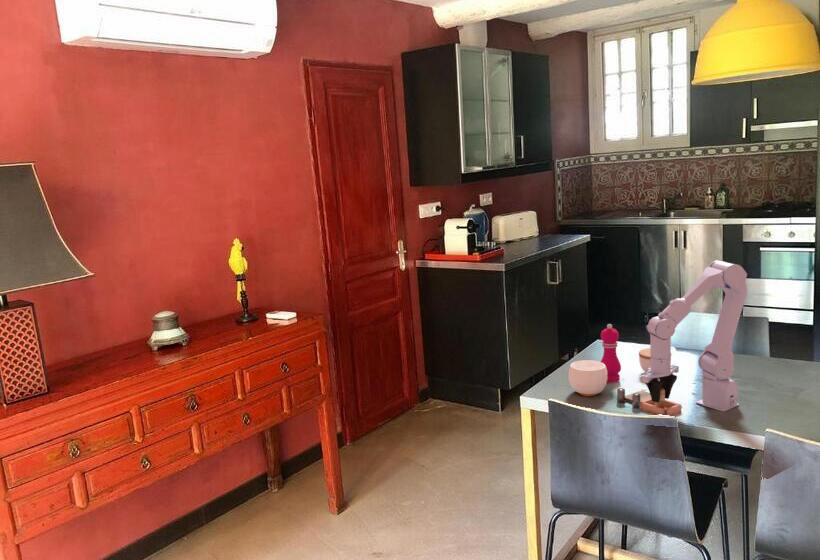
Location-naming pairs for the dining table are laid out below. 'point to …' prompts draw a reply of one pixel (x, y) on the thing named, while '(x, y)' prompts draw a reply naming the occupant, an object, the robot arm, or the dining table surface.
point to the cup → (588, 377)
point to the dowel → (661, 399)
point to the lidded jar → (644, 359)
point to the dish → (669, 409)
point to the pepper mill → (610, 354)
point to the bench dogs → (635, 398)
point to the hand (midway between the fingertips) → (660, 399)
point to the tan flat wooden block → (643, 394)
